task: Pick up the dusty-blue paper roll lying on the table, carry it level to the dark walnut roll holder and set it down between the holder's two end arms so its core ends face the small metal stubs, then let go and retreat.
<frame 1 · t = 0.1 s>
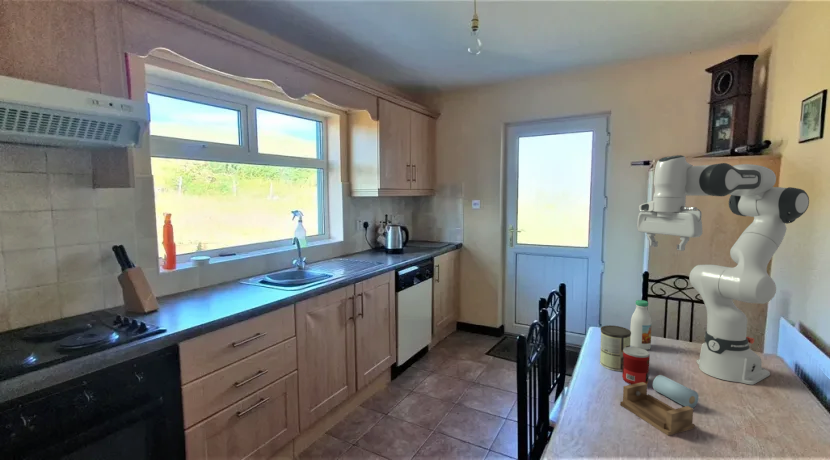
hand: (666, 248, 124), 48 cm above the table, fingers open, 8 cm apart
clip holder: (655, 415, 113), on the table
canned food: (635, 381, 134), on the table
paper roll: (674, 399, 122), on the table
coffee can: (614, 365, 146), on the table
milk bottle: (640, 347, 163), on the table
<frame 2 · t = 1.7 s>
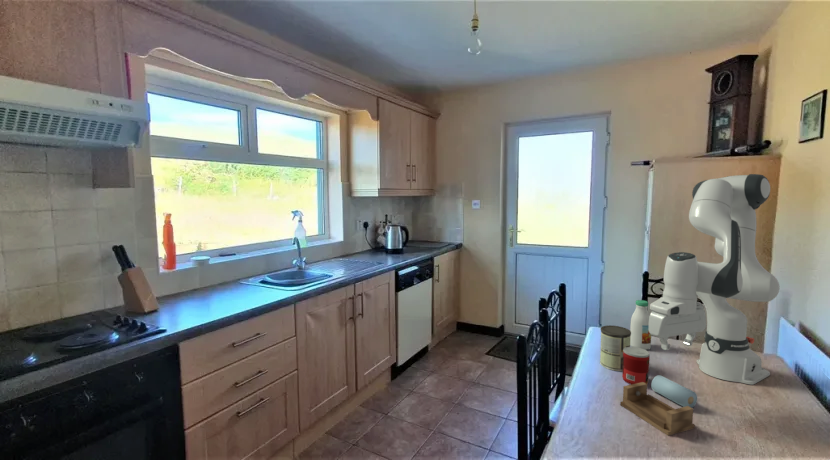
hand: (676, 347, 120), 17 cm above the table, fingers open, 8 cm apart
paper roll: (674, 399, 122), on the table, tilted 13°
everything else where it was.
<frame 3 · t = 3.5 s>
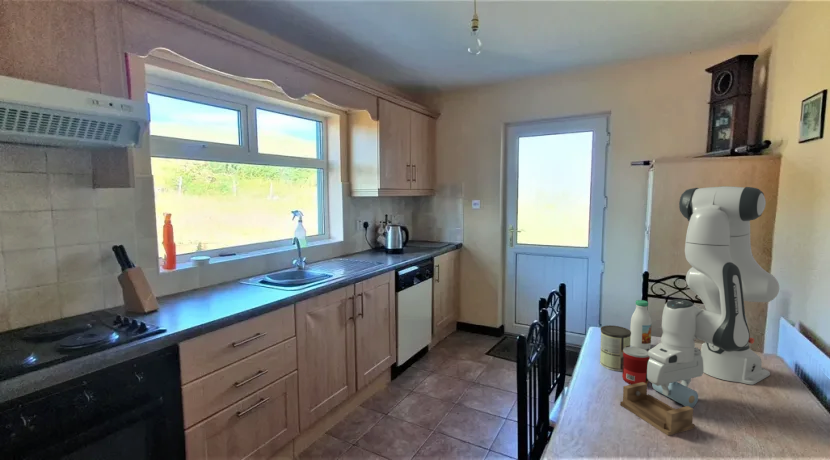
hand: (674, 392, 122), 2 cm above the table, fingers closed on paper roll, 6 cm apart
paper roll: (674, 398, 122), on the table, touching gripper
everything else where it was.
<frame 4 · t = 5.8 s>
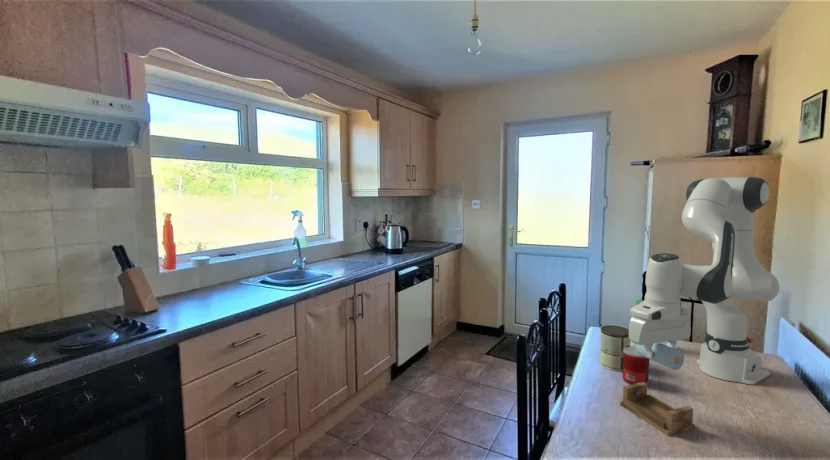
hand: (659, 355, 112), 18 cm above the table, fingers closed on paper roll, 6 cm apart
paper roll: (658, 362, 112), point 16 cm above the table, touching gripper
everything else where it was.
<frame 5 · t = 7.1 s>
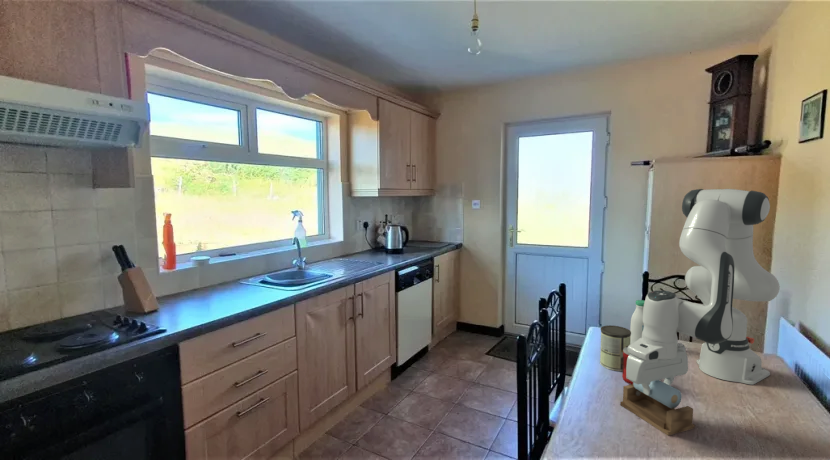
hand: (656, 391, 112), 8 cm above the table, fingers closed on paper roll, 6 cm apart
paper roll: (656, 398, 112), point 5 cm above the table, touching gripper
everything else where it was.
when the fingers open (5 cm above the table, at t = 8.0 s): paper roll drops 2 cm, resting on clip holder.
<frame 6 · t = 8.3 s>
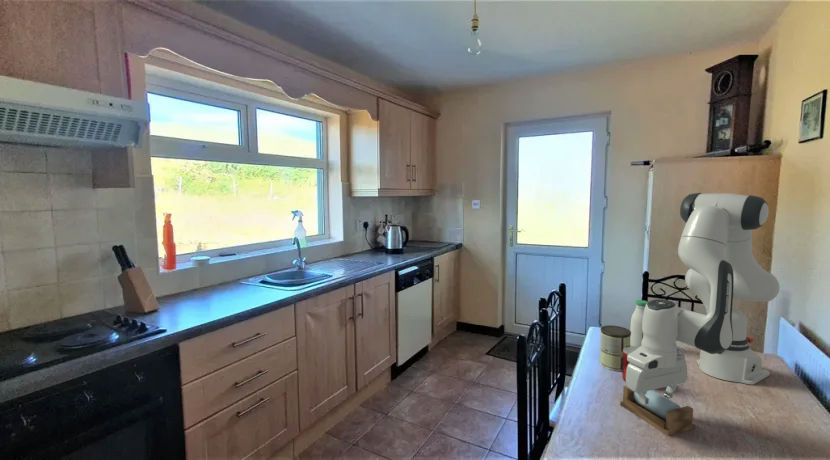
hand: (656, 400, 112), 5 cm above the table, fingers open, 8 cm apart
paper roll: (655, 412, 113), point 1 cm above the table, touching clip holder
everything else where it was.
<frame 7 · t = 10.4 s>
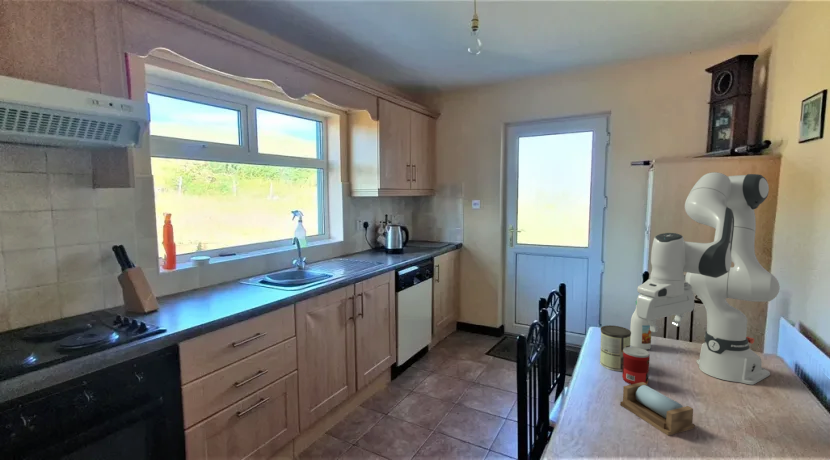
hand: (665, 328, 119), 24 cm above the table, fingers open, 8 cm apart
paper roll: (655, 411, 113), point 1 cm above the table, tilted 21°, touching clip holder
everything else where it was.
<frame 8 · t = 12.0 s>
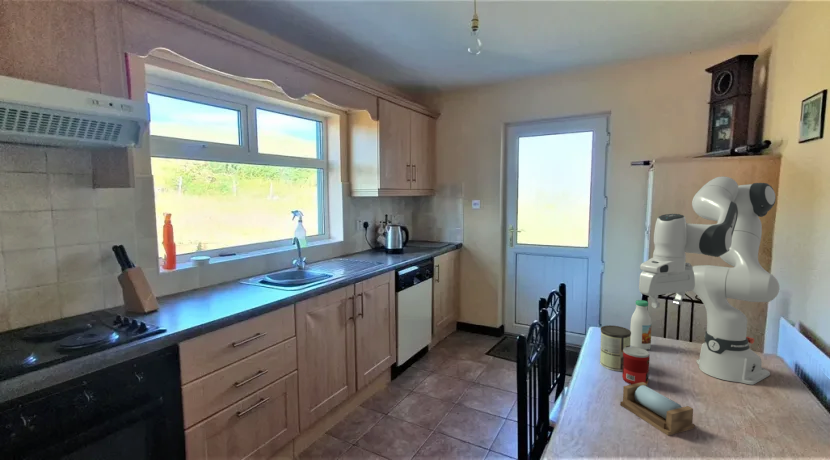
hand: (666, 306, 124), 29 cm above the table, fingers open, 8 cm apart
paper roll: (655, 412, 113), point 1 cm above the table, tilted 12°, touching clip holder
everything else where it was.
at the end: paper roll inside the target area on the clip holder (0.2 cm from its centre), point 1.0 cm above the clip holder's base; the gripper is holding nothing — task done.
